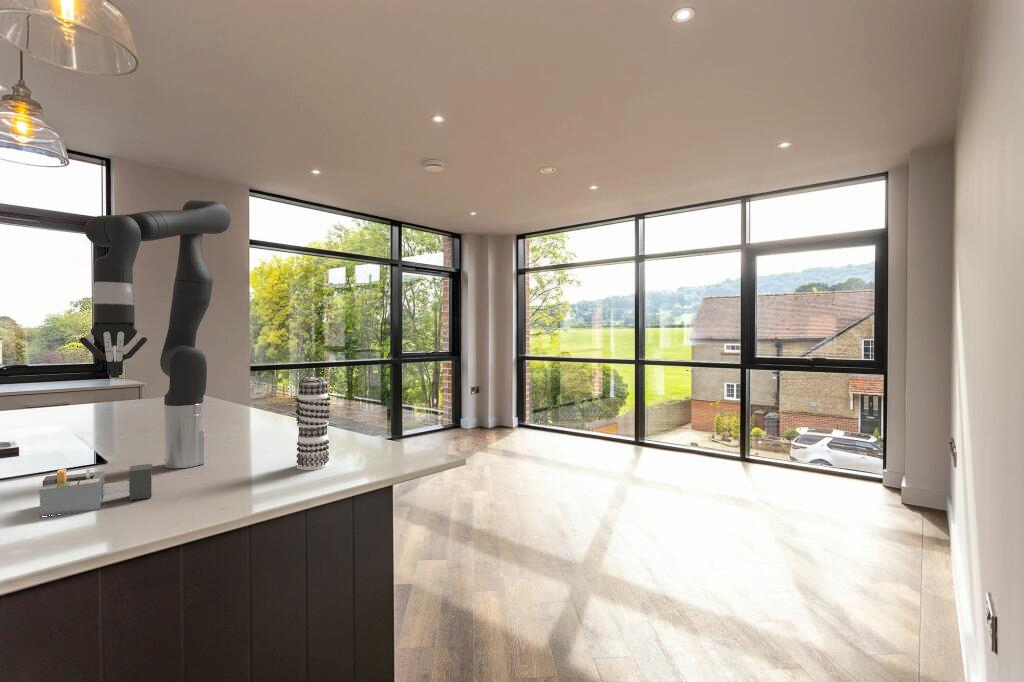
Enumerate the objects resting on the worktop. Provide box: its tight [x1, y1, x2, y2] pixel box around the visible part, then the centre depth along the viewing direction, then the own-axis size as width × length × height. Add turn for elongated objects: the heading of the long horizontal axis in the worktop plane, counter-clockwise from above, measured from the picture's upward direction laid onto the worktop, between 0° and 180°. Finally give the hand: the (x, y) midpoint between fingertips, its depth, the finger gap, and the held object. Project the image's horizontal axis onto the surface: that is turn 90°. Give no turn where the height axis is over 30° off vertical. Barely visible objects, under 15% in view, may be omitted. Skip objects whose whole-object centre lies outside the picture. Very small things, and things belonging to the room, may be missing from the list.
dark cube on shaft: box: [85, 463, 153, 501], centre depth 115 cm, size 12×5×8 cm, turn 124°
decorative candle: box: [294, 376, 331, 471], centre depth 144 cm, size 9×9×25 cm
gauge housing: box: [39, 470, 106, 518], centre depth 110 cm, size 10×10×7 cm
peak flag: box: [56, 468, 67, 483], centre depth 109 cm, size 1×3×7 cm, turn 34°
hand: (115, 377), depth 119 cm, fingers closed
